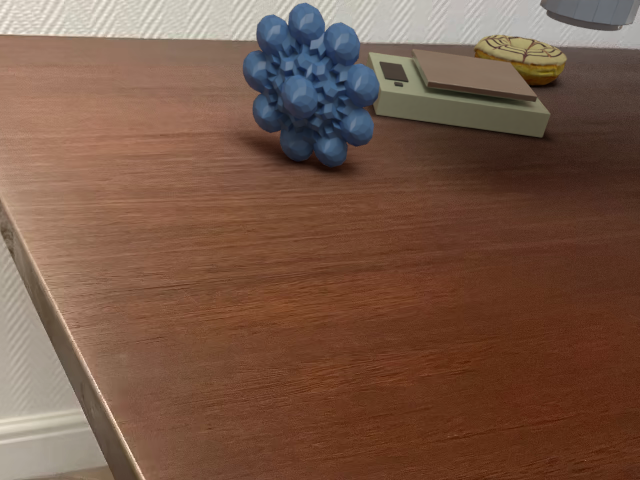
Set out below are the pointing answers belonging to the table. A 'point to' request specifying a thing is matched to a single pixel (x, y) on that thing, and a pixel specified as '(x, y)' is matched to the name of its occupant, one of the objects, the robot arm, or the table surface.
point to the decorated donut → (524, 57)
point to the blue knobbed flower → (311, 85)
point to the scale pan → (472, 75)
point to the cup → (593, 13)
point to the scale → (449, 101)
